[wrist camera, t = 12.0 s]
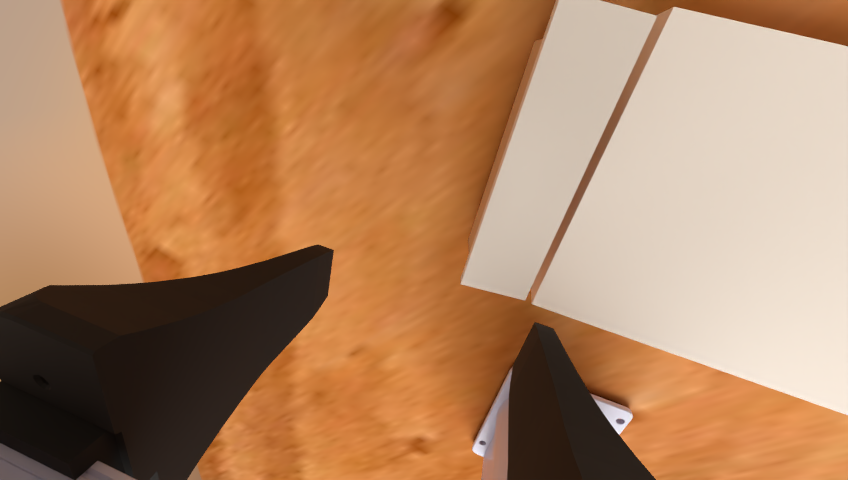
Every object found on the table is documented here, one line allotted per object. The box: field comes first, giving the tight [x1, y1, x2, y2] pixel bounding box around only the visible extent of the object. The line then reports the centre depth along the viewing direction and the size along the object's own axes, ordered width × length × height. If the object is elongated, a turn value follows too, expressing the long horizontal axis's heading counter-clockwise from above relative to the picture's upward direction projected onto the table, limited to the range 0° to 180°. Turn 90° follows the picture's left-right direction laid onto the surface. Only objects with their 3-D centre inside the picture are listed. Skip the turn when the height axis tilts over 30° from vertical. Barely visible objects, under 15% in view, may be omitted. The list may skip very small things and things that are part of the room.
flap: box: [461, 0, 657, 301], centre depth 17 cm, size 13×4×2 cm, turn 166°
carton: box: [531, 7, 848, 415], centre depth 15 cm, size 14×22×2 cm, turn 76°
